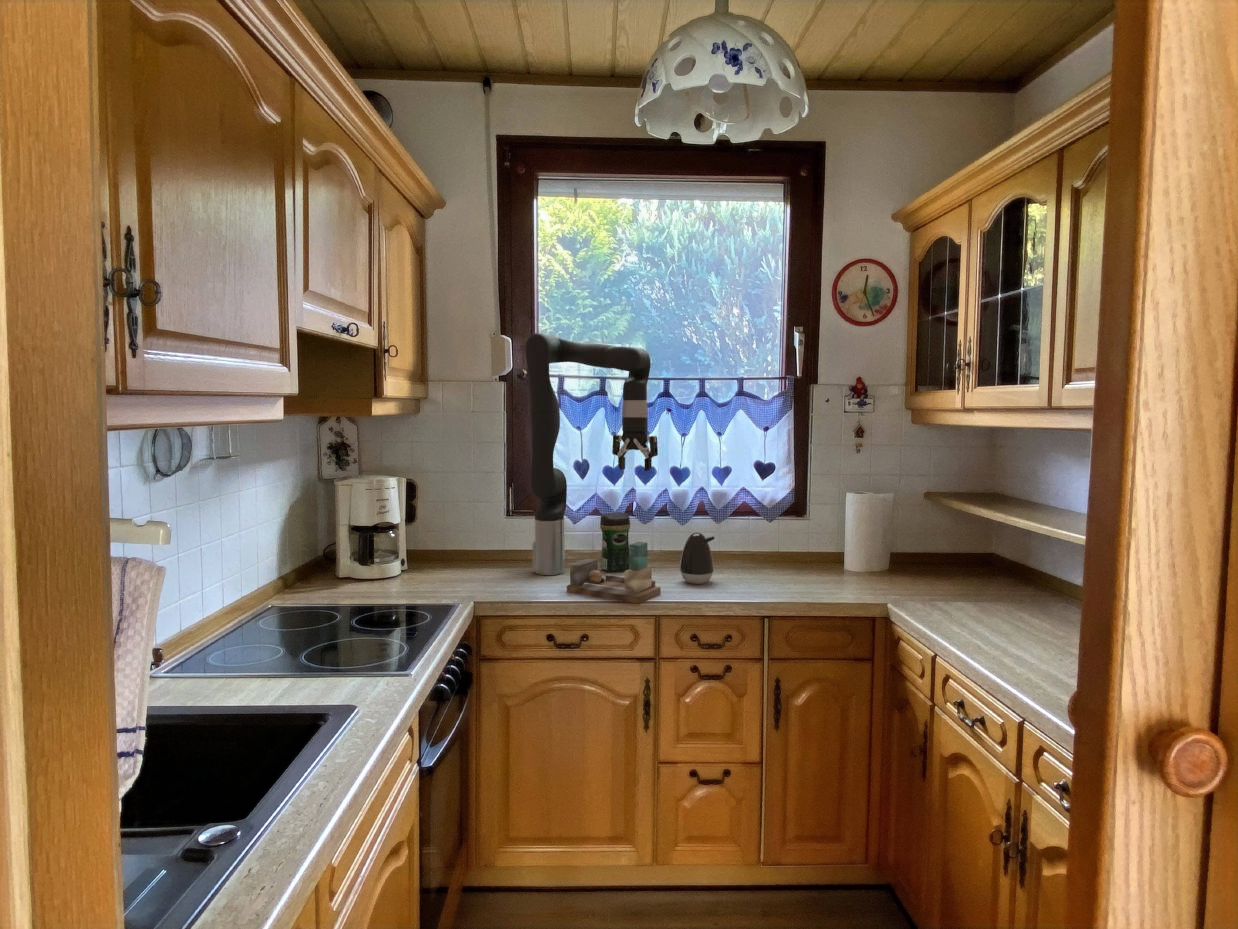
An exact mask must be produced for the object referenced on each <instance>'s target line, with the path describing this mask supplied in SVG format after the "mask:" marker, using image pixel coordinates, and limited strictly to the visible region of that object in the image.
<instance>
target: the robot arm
mask: <svg viewBox="0 0 1238 929" xmlns="http://www.w3.org/2000/svg"><path fill="white" fill-rule="evenodd" d="M524 350H525V351H524V352H525V354H524V355H525V361H526V368H527V375H528V389H529V390H528V391H529V412H530V413H529V414H530V415H529V416H530V417H529V418H530V439H531V440H530V442H531V445H530V446H531V465H530V475H529V476H530V479H529V482H530V484H529V485H530V489H531V492H532V493H533V495H534V496H535V497H536V498H538V499H539V501H540V502H539V505H538V506H537V508H536V509H535V510H534V542H533V543H532V572H533V573H536V574H537V575H543V576H555V575H561V574H564V573H565V522H564V521H565V513H566V509H567V498H568V497H567V492H568V488H567V487H568V483H567V477H566V475H565V474H564V472H563V471H562V470H561V469H559V468H556V467H554V452H555V446H556V443H557V439H558V437H559V432H560V428H561V413H560V411H561V410H560V404H559V400H558V398H557V397H558V396H556V392H555V390H554V387H553V386H552V383H551V378H550V364H557V363H559V364H560V363H575V364H581V365H585V366H588V367H595V368H601V369H615V370H617V371H618V370H619V371H625V372H628V377H627V380H625V381H624V383H623V385H622V406H621V408H622V409H621V411H622V412H621V413H622V414H621V417H622V418H621V419H622V420H621V430H622V435H620V434H613V436H612V451H611V452H612V455H613V456H616V457H617V463H618V464H617V466H618V468H619V470H625V469H626V454H627V453H628V452H629V451H632V450H633V451H634V450H635V451H639V452H640V453H642V455H643V456H644V464H643V465H644V469H643V470H644V471H645V472H650V470H651V469H652V464H653V462H652V459H653V458H654V457H657V456H658V455H659V451H658V450H659V449H658V448H659V447H658V436H657V435H651V436H648V425H649V424H648V419H649V418H648V417H649V416H648V414H649V413H648V401H647V399H648V395H647V394H648V392H647V391H648V390H647V389H648V388H647V386H648V382H649V376H650V371H651V366H652V365H651V356H650V354H649V352H648V351H647V350H646V349H644V348H640V347H633V346H618V345H617V346H616V345H612V344H608V343H607V344H606V343H605V344H604V343H597V342H577V341H576V342H575V341H571V340H567V339H564V338H560V337H557V336H554V335H552V334H549V333H542V332H541V333H539V332H536V333H532V334H531V335H529V337H528V338H527V339H526V342H525V348H524ZM621 442H623V444H622V445H621ZM647 442H648V444H649V446H648V445H647Z"/></svg>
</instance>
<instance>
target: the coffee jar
mask: <svg viewBox="0 0 1238 929" xmlns="http://www.w3.org/2000/svg"><path fill="white" fill-rule="evenodd" d="M599 527H600V529H601V534H602V536H601V537H602V540H601V541H602V543H601V553H600V569H601V570H602V571H603V572H610V573H611V572H613V573H616V572H617V573H619V572H625V571H626V570H629V544H630V543H629V542H630V541H629V532H630V528H631V519H630V515H629V514H628V513H625V512H610V513H603V514H600V524H599Z"/></svg>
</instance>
